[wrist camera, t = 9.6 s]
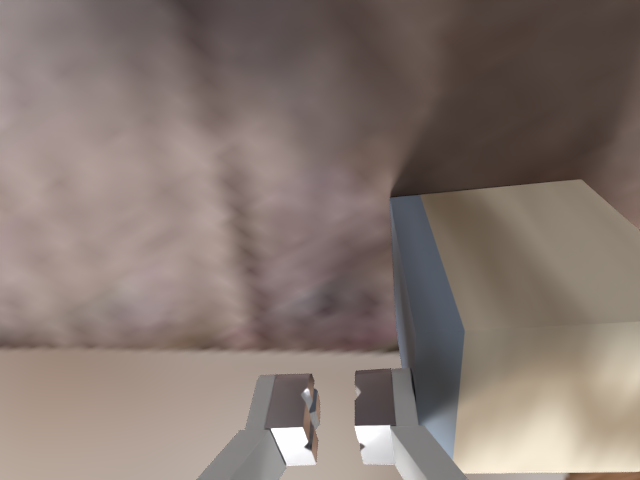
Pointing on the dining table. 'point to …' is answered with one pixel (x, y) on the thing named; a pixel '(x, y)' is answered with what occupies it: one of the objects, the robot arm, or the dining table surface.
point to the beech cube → (521, 326)
